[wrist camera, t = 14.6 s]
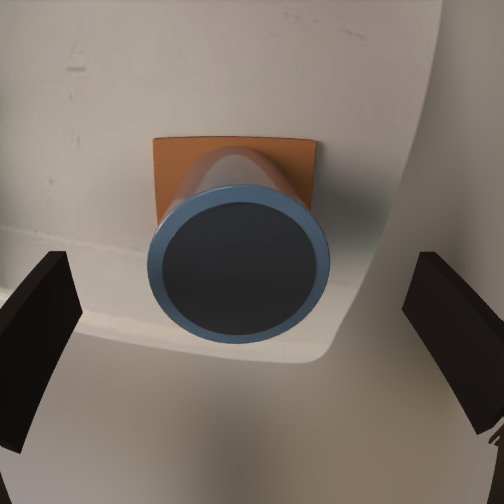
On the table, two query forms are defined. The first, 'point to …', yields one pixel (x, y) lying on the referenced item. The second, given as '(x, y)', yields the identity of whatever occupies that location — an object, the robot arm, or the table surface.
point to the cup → (237, 250)
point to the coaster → (192, 148)
